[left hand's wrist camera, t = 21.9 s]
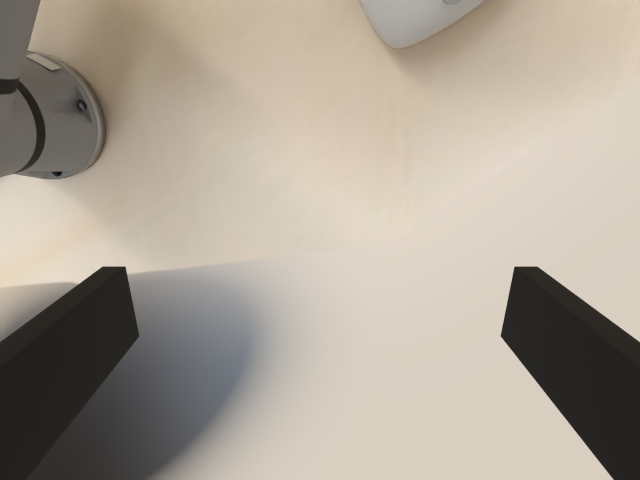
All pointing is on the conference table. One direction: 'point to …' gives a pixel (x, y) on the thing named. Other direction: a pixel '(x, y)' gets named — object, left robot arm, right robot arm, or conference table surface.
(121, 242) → the conference table surface
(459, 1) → the projector
